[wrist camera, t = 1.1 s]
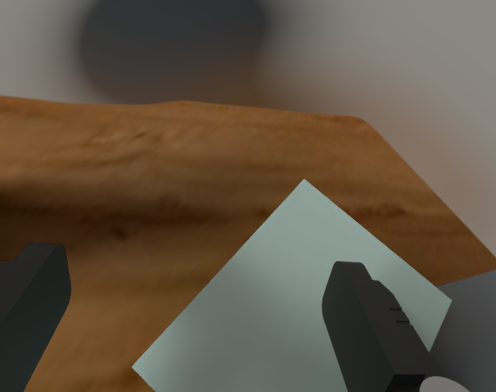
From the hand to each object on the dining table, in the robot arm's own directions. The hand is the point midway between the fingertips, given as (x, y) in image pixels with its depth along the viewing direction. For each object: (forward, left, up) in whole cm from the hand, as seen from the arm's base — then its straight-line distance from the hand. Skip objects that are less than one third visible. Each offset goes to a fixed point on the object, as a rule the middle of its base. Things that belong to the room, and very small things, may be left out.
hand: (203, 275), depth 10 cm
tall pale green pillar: (+4, +2, -25) cm, 25 cm away
